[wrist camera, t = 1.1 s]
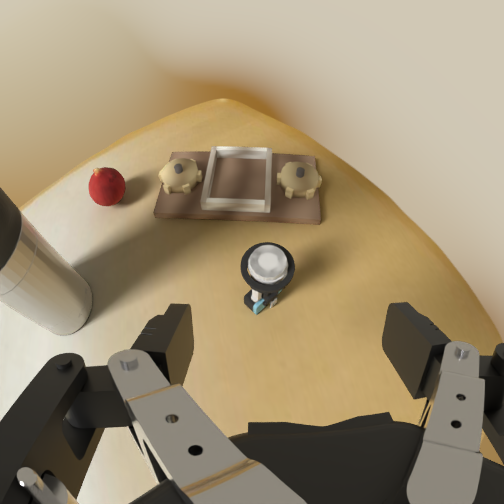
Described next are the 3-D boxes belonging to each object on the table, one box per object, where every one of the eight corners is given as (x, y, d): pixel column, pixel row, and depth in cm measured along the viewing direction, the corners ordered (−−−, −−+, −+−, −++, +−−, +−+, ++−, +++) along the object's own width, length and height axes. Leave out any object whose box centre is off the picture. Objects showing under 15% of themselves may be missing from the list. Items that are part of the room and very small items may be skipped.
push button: (271, 264, 41) (276, 220, 32) (301, 290, 39) (315, 252, 30) (234, 298, 39) (228, 260, 30) (264, 327, 37) (269, 297, 28)
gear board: (153, 217, 45) (146, 200, 41) (171, 156, 51) (167, 139, 47) (321, 224, 44) (327, 206, 40) (315, 161, 50) (319, 143, 47)
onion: (120, 182, 48) (105, 148, 41) (137, 200, 46) (122, 165, 39) (93, 203, 46) (74, 171, 39) (108, 222, 44) (88, 189, 37)
